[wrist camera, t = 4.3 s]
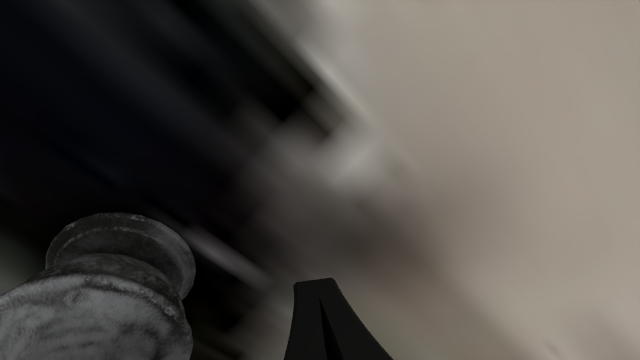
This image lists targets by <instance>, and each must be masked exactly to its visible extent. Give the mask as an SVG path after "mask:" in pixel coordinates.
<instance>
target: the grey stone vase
mask: <svg viewBox="0 0 640 360" xmlns="http://www.w3.org/2000/svg"><path fill="white" fill-rule="evenodd" d="M195 274H196V267H195V259H194V256H193V254H192V252H191V250H190V248H189V246H188V244H187V243H186V242H185V241H184V240H183V239H182V238H181V237H180V236H179V235H178V234H177V233H176V232H175V231H173V230H172V229H170V228H169V227H167V226H166V225H164V224H162V223H161V222H158V221H155V220H153V219H150V218H147V217H145V216H141V215H135V214H129V213H123V212H116V213H99V214H95V215H91V216H87V217H83V218H81V219H79V220H77V221H75V222H73V223H71V224H69V225H68V226H66V227H65V228H64V229H63V230H62V231H61V232H60V233H59V234H58V235H57V236H56V237H55V238H54V239H53V240H52V242H51V244H50V246H49V249H48V251H47V253H46V269H45V270H44V271H42V272H40V273H38V274H37V275H35V276H33V277H31V278H30V279H28V280H27V281H26V282H25V283H23V284H21V285H19V286H17V287H15V288H13V289H11V290H10V291H8V292H6V293H4V294H2V295H1V296H0V360H189V359H190V355H191V351H192V348H193V339H192V332H191V327H190V325H189V323H188V322H187V320H186V316H185V310H184V306H183V304H182V300H183V299H184V298H185V297H186V296H187V294H188V293H189V291H190V289H191V288H192V286H193V282H194V278H195Z"/></svg>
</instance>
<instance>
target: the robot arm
mask: <svg viewBox="0 0 640 360" xmlns="http://www.w3.org/2000/svg"><path fill="white" fill-rule="evenodd" d="M293 286H294V310H293V318H292V324H291V330H290V336H289V340H288V345H287V349H286V353H285V357H284V360H393V359H392V358H391V356H390V355H389V354H388V353H387V352H386V351H385V350H384V349H383V348H382V346H381V345H380V344H379V343H378V342H377V341H376V339H375V338H374V337H373V336H372V335H371V333H370V332H369V331H368V329H367V328H366V327H365V326H364V324H363V323H362V322H361V320H360V319H359V318H358V316H357V315H356V314H355V312H354V311H353V309H352V308H351V306H350V305H349V303H348V302H347V300H346V299H345V297H344V296H343V294H342V292H341V291H340V289H339V287H338V285H337V284H336V282H335V280H334V279H333V278H325V279H318V280H310V281H303V282H296V283H295V284H294V285H293Z"/></svg>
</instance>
